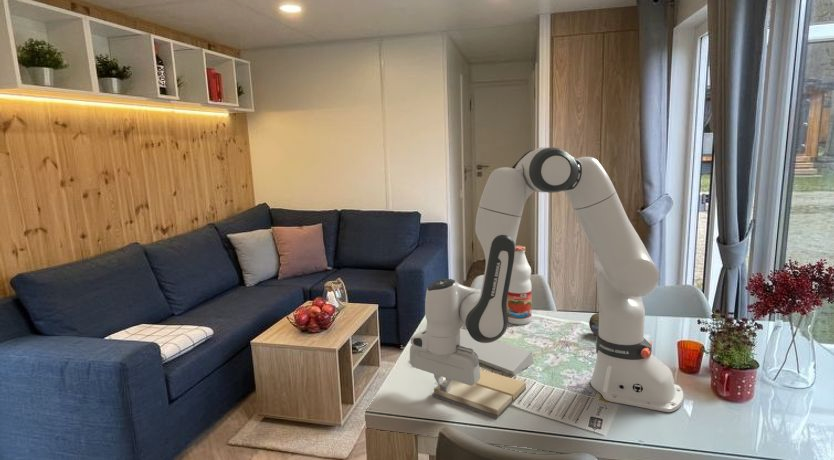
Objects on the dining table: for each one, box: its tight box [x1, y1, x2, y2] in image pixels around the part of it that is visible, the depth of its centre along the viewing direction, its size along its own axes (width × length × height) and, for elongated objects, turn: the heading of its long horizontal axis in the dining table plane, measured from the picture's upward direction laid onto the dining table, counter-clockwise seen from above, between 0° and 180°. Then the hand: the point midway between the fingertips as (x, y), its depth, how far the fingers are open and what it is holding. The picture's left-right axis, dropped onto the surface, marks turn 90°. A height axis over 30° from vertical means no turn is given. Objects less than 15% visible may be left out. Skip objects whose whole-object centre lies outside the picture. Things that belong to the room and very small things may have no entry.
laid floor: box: [432, 368, 527, 420], centre depth 129 cm, size 19×17×2 cm
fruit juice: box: [507, 245, 533, 326], centre depth 176 cm, size 9×9×28 cm
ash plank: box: [433, 379, 512, 415], centre depth 126 cm, size 19×8×2 cm, turn 53°
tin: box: [588, 312, 599, 337], centre depth 159 cm, size 15×3×8 cm, turn 40°
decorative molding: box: [460, 327, 535, 376], centre depth 153 cm, size 34×5×10 cm
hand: (444, 390), depth 128 cm, fingers closed, pressing on ash plank
